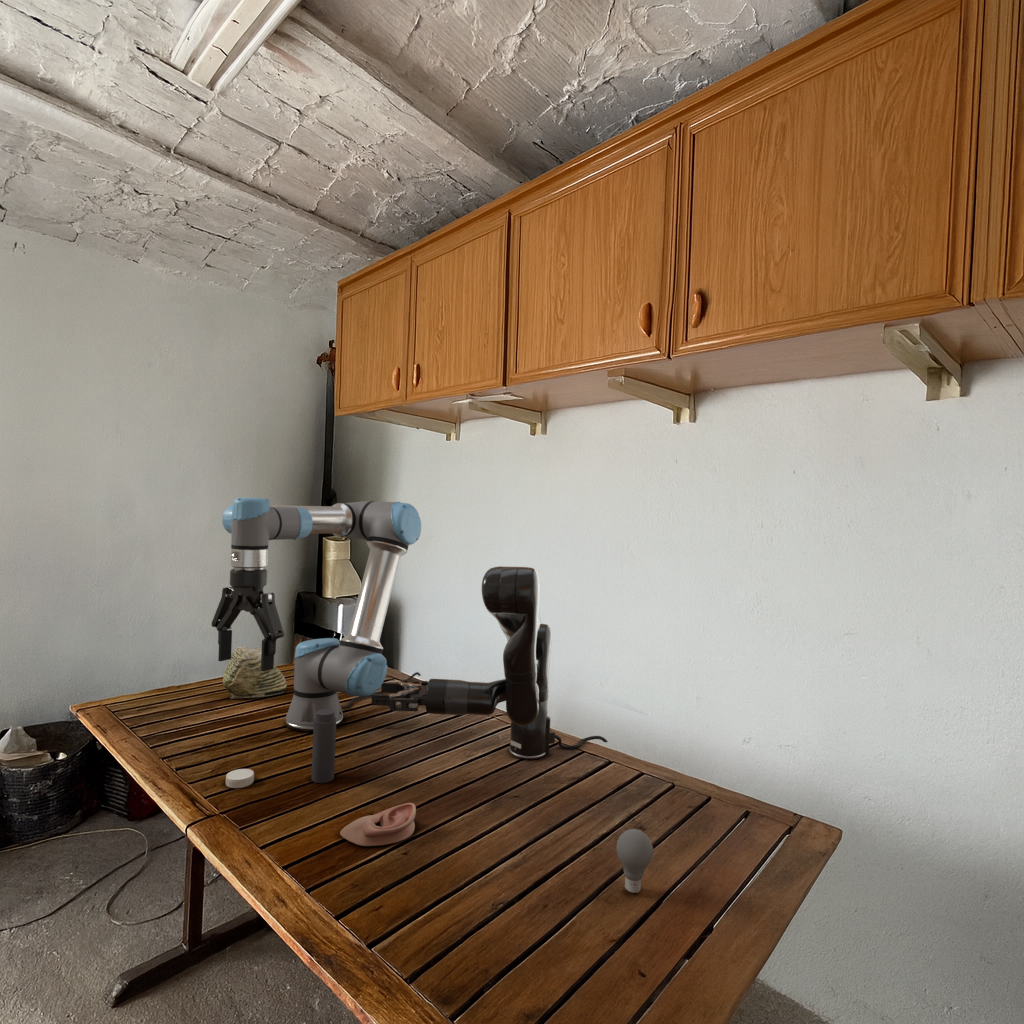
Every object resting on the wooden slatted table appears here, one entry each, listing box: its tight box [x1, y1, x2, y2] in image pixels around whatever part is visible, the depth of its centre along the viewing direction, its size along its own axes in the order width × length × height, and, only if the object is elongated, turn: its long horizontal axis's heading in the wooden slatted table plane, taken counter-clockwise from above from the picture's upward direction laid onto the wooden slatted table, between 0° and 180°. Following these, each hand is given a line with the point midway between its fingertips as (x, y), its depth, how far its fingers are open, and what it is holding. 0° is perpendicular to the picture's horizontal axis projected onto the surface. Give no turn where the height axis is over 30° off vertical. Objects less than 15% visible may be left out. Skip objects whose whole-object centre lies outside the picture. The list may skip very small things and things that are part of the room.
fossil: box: [222, 646, 288, 699], centre depth 198 cm, size 9×18×15 cm, turn 132°
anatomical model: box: [339, 802, 417, 847], centre depth 121 cm, size 13×4×12 cm
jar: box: [311, 709, 337, 784], centre depth 142 cm, size 5×5×15 cm
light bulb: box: [615, 828, 654, 894], centre depth 106 cm, size 6×6×10 cm
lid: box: [225, 768, 255, 789], centre depth 139 cm, size 6×6×2 cm
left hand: (245, 665), depth 139 cm, fingers open, 13 cm apart
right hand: (376, 693), depth 141 cm, fingers open, 8 cm apart
